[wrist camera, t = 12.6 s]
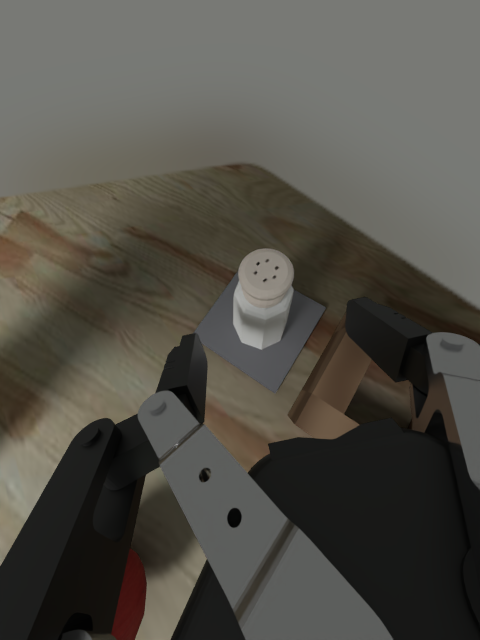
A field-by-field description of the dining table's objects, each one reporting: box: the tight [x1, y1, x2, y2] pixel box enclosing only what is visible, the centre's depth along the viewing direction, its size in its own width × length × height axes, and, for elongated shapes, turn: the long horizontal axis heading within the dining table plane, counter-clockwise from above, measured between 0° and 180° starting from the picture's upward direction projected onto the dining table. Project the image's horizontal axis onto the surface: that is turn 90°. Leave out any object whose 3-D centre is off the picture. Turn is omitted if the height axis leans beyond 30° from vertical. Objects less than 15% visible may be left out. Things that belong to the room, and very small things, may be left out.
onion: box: [111, 548, 147, 640], centre depth 13 cm, size 6×6×8 cm
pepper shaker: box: [233, 248, 294, 350], centre depth 15 cm, size 5×5×11 cm
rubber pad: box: [193, 270, 326, 393], centre depth 21 cm, size 10×10×1 cm
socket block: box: [288, 313, 412, 439], centre depth 17 cm, size 12×12×4 cm
